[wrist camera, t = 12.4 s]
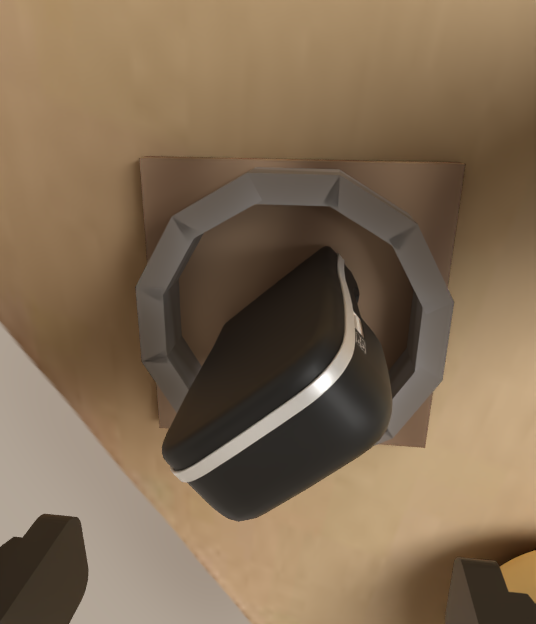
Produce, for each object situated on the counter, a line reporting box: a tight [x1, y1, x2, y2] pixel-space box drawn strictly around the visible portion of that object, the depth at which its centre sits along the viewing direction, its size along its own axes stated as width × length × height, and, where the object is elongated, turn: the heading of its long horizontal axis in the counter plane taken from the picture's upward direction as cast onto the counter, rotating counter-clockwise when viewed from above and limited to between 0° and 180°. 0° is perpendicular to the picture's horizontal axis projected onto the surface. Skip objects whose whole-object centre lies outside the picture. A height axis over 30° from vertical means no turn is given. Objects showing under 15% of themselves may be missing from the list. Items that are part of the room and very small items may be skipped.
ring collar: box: [135, 156, 465, 448], centre depth 24 cm, size 14×14×4 cm
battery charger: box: [162, 246, 393, 521], centre depth 19 cm, size 7×4×11 cm, turn 130°
